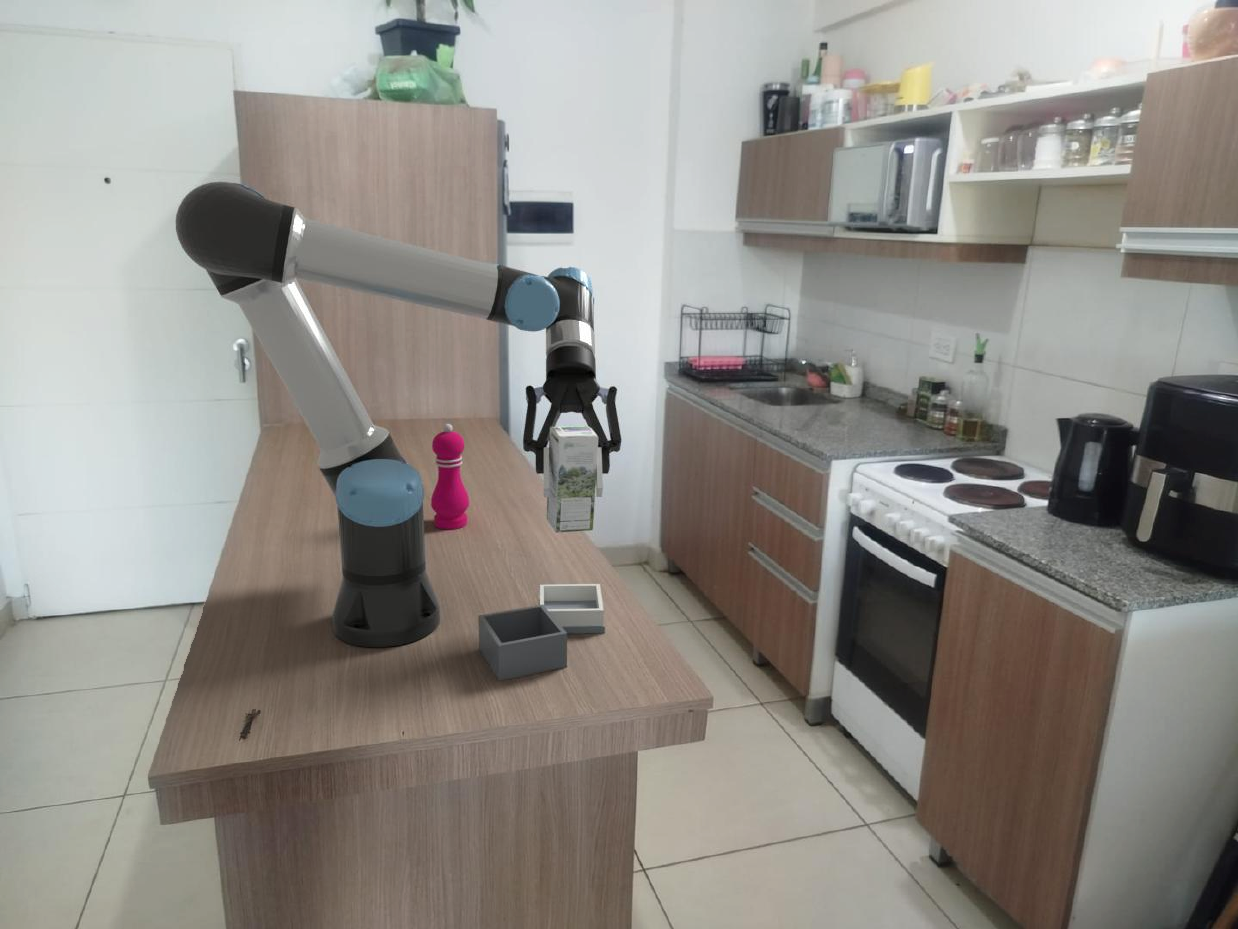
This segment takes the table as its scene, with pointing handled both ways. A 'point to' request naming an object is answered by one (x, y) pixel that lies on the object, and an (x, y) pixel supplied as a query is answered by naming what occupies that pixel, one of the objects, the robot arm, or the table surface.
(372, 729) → the table surface
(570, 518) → the syrup box
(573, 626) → the low tray
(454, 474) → the pepper mill
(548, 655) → the deep sleeve
